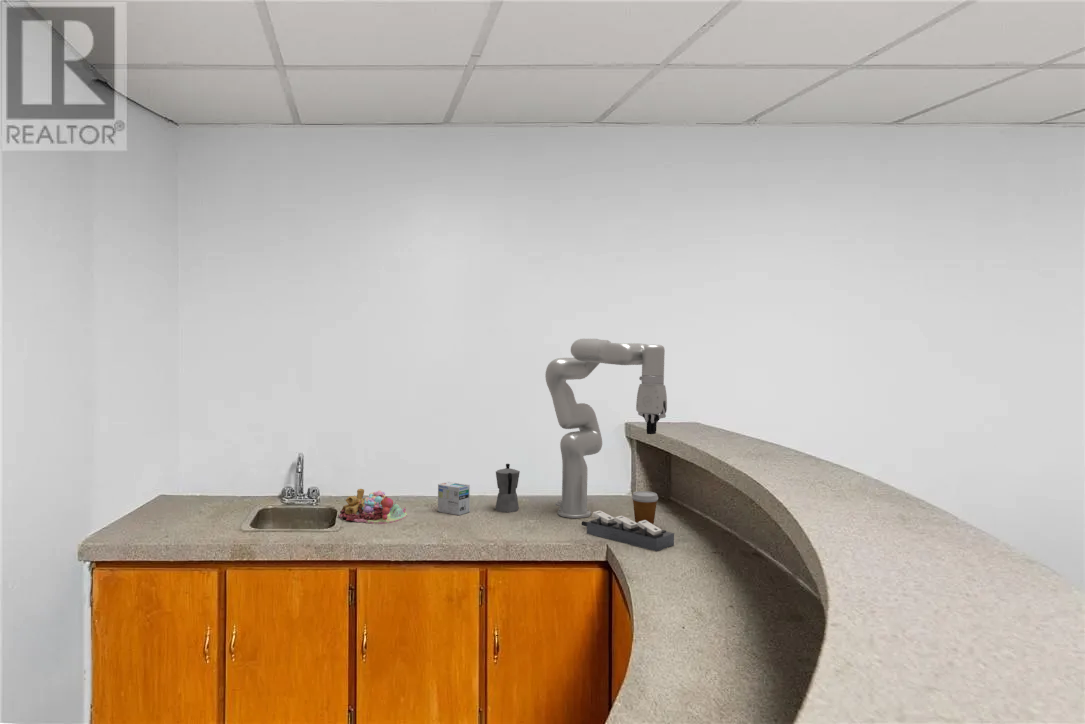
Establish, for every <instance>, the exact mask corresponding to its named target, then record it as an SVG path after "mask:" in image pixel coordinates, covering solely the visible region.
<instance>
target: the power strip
mask: <svg viewBox="0 0 1085 724" xmlns="http://www.w3.org/2000/svg"><path fill="white" fill-rule="evenodd" d="M581 526H583V527H586V534H588V535H591V536H596V537H599V538H603V539H606V540H610V541H614V542H619V543H622V544H626V545H629V546H634V547H638V548H642V549H644V550H645V549H646V550H650V551H654V552H659V551H661V550H664V549H667V547H668V548H670V547H674V545H675V532H670V531H667V530H665V529H661V530H662V531H661V533H660V534H657V535H652V534H651V533H649V532H647V530H645V529H642V528H641V527H639V526H638V527H635V528H632V529H629V528H627V527H625V526H624V525H623V524H620V523H618V522H616V521H615V522H611V523H606V522H604V521H602V520H601V519H599V518H596V519H592V520H589V521H584V520H582V521H581Z"/></svg>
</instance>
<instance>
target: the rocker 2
mask: <svg viewBox="0 0 1085 724" xmlns="http://www.w3.org/2000/svg"><path fill="white" fill-rule="evenodd" d="M614 521H616V522H618V523H620V524H623V525H624V526H625V527H627V528H629V529H632V528H635V527H638V525H637V524H638V523H636V522H635V520H632V519H630V518H629V517H626V516H624V515H618V516H614Z"/></svg>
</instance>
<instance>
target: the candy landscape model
mask: <svg viewBox="0 0 1085 724" xmlns="http://www.w3.org/2000/svg"><path fill="white" fill-rule="evenodd" d="M364 495H365V489H364V488H358V489H357V490H356V495H352V496H351V495H350V496H348V497H346V499H345V502H346V503H347V504H345V505H343V507H341V510H340V511H339V514H338V517H339V518H340V520H343V519H345V521H346V522H356V523H366V524H372V525H373V524H374V525H385V524H387V525H388V524H393V523H396V522H399V521H402V520H403V519H406V517H408V514H407V511H406V510H407V509H406V507H404V508H403V509H402V507H401V506H400V505H399V503H396V502H395V503H394V501H393V499H392V498H391V497H388V496H387V495H386V493H385V491H382V490H377V491H374V492H373V491H372V492H370V493H369V494H368V497H367V496H366V497H365V498H363V497H364Z"/></svg>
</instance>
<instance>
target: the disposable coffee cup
mask: <svg viewBox="0 0 1085 724" xmlns="http://www.w3.org/2000/svg"><path fill="white" fill-rule="evenodd" d="M631 498H632V504H633V513H634V514H633V516H634V522H636V523H638V522H639V521H643V520H646V521H648V522H650V523H651V524H653V525H655V516H656V510H657V504H658V500H659V496H658V494H657V493H656V492H655V491H654V492H653V491H647V490H646V491H644V490H642V491H641V490H639V491H633V492H632V495H631Z"/></svg>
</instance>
